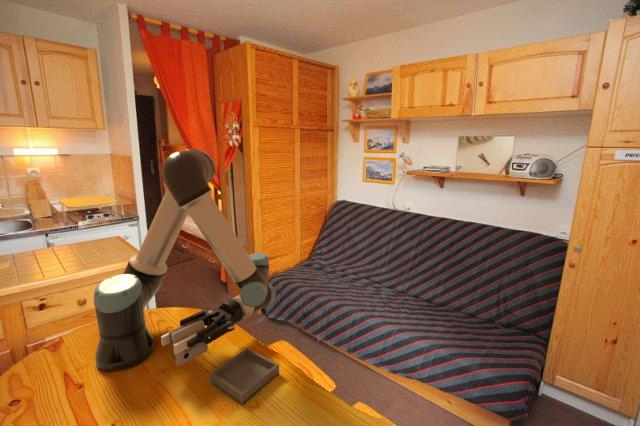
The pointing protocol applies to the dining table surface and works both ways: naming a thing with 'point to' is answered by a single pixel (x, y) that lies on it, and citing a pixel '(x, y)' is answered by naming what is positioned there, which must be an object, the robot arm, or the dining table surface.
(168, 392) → the dining table surface
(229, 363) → the box
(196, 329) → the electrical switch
